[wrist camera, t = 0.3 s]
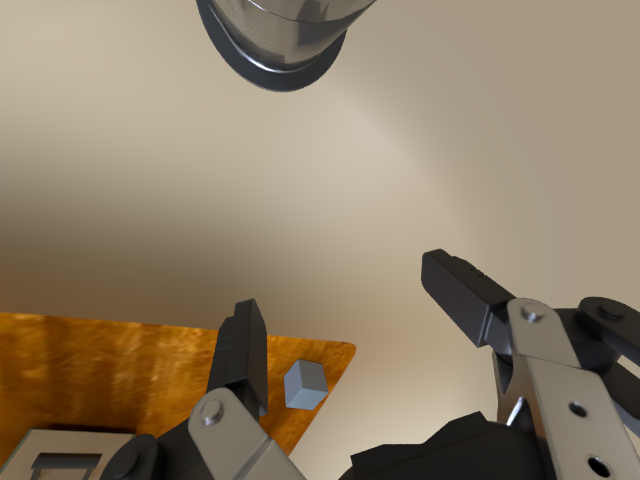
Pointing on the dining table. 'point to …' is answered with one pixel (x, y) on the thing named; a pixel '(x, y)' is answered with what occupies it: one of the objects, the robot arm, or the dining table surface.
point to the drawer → (63, 455)
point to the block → (305, 385)
